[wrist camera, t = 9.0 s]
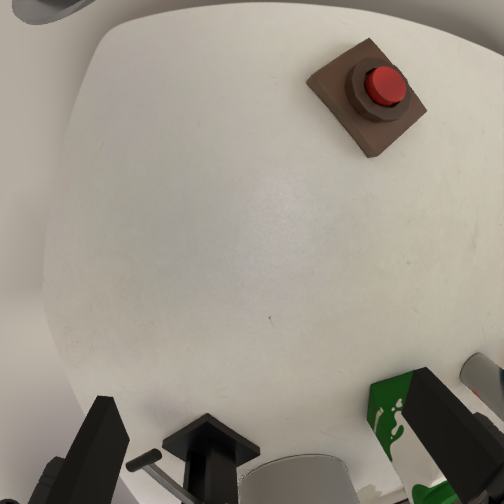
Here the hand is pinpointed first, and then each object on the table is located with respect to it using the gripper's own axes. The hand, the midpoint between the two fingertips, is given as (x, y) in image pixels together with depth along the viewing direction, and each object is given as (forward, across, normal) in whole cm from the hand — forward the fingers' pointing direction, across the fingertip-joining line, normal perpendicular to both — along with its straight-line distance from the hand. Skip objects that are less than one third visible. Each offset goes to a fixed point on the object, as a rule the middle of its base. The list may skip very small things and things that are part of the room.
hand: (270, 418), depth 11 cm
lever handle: (+10, -8, -21) cm, 25 cm away
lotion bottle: (+20, +36, -18) cm, 45 cm away
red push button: (+16, +14, +19) cm, 28 cm away
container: (+20, +6, -38) cm, 43 cm away
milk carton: (+20, +20, -19) cm, 34 cm away
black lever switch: (+19, -6, -24) cm, 31 cm away
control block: (+20, +14, +19) cm, 30 cm away
